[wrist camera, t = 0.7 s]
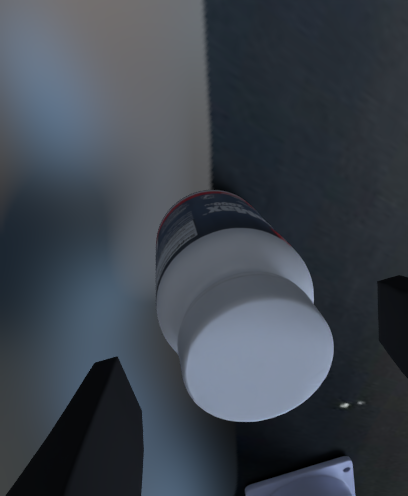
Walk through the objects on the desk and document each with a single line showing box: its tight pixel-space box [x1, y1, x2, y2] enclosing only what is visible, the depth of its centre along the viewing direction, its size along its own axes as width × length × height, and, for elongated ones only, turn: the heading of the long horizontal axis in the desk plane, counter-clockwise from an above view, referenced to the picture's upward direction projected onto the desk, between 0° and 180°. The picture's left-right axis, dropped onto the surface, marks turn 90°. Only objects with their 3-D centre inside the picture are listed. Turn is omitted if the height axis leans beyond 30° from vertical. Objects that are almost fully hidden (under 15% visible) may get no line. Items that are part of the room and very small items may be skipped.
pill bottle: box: [156, 190, 334, 422], centre depth 13 cm, size 5×5×9 cm
